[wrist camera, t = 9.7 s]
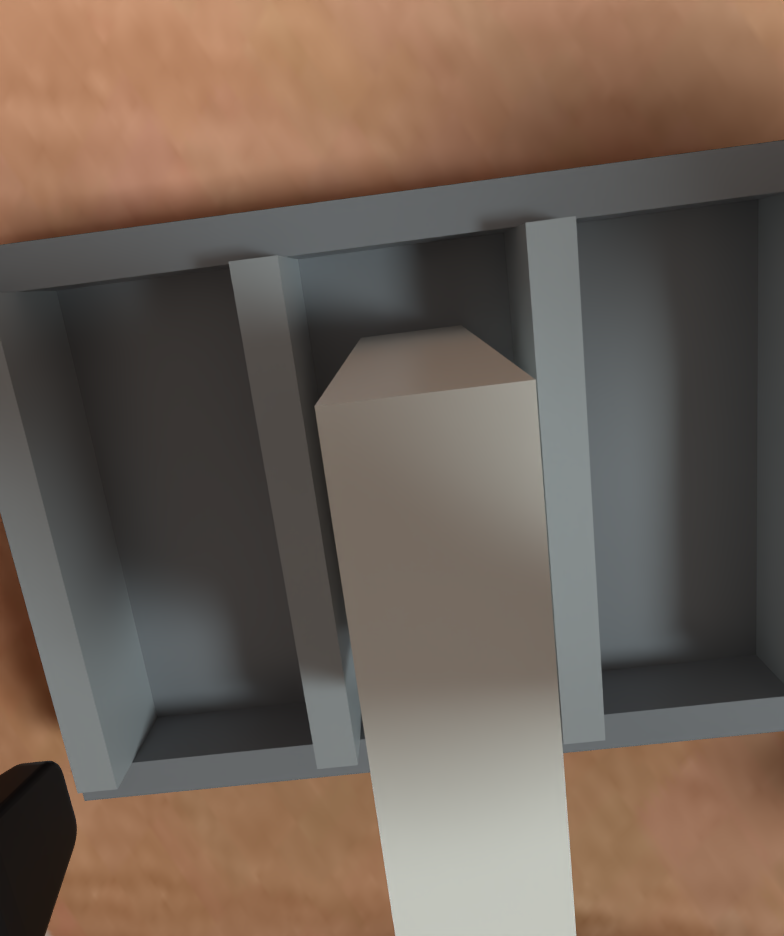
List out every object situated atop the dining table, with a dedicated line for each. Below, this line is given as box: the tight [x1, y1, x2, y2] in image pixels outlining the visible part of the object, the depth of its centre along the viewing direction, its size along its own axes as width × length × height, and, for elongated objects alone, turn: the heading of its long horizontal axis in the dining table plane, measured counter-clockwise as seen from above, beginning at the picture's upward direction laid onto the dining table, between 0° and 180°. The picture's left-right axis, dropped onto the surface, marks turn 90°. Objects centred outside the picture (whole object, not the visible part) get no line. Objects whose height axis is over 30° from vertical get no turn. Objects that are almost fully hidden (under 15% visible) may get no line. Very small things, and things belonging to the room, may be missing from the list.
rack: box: [0, 140, 784, 801], centre depth 18 cm, size 20×14×4 cm
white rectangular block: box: [314, 325, 576, 936], centre depth 14 cm, size 2×8×10 cm, turn 7°
